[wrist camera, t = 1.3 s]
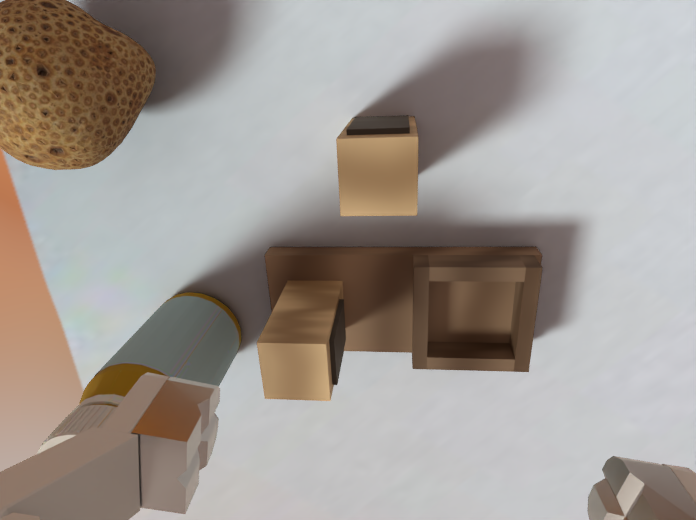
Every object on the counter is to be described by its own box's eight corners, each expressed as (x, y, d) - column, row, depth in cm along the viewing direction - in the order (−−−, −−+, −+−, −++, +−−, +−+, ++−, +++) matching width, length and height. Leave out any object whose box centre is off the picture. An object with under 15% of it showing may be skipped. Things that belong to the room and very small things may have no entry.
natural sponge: (21, 81, 32) (-133, 92, 22) (84, -33, 28) (-66, -73, 19) (131, 174, 33) (30, 219, 24) (202, 78, 30) (116, 88, 21)
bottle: (186, 272, 36) (57, 404, 23) (260, 323, 37) (179, 478, 24) (146, 329, 39) (8, 478, 25) (216, 375, 40) (120, 542, 26)
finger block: (413, 177, 31) (417, 215, 24) (354, 179, 32) (340, 216, 25) (414, 111, 30) (418, 130, 22) (351, 113, 30) (336, 132, 23)
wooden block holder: (536, 246, 32) (585, 316, 24) (523, 343, 36) (563, 436, 27) (269, 247, 35) (226, 311, 26) (281, 338, 38) (245, 423, 29)
